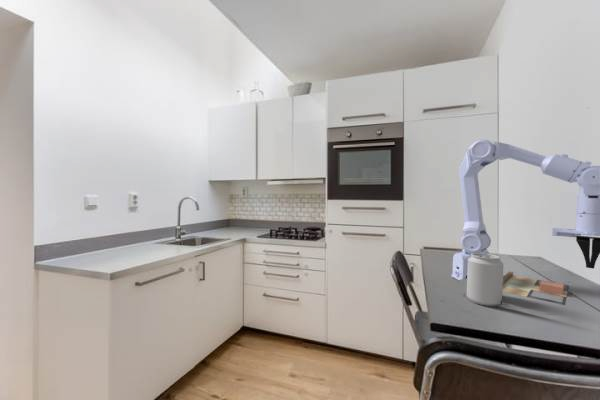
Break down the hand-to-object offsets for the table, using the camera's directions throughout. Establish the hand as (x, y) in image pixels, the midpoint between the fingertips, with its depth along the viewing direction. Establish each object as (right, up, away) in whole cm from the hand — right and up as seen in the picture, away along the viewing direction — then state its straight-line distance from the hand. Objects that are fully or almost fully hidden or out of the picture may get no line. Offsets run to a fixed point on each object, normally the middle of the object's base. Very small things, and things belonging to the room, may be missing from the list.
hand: (590, 267), depth 70 cm
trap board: (-8, -9, +8) cm, 14 cm away
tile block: (-5, -8, +5) cm, 11 cm away
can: (-27, -9, 0) cm, 28 cm away
